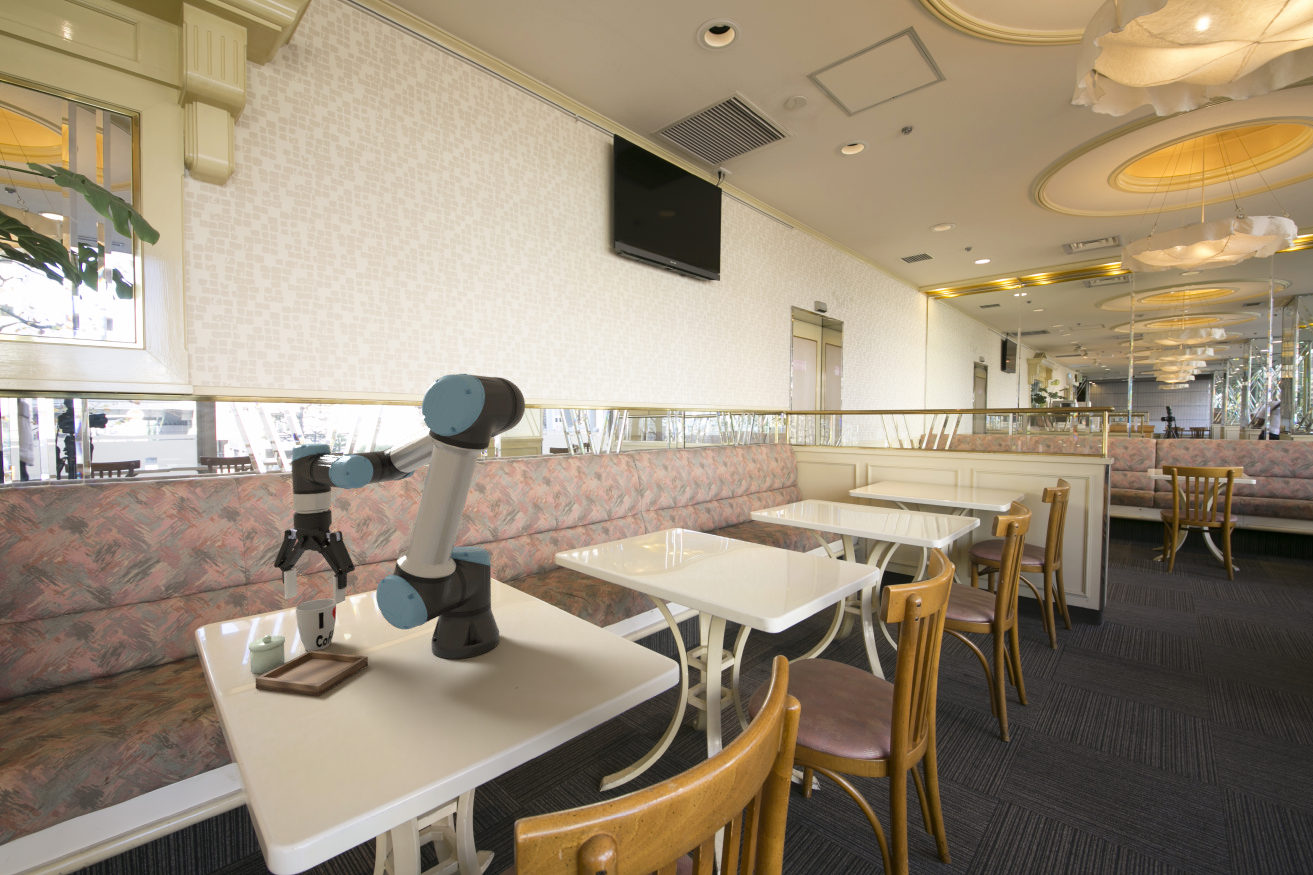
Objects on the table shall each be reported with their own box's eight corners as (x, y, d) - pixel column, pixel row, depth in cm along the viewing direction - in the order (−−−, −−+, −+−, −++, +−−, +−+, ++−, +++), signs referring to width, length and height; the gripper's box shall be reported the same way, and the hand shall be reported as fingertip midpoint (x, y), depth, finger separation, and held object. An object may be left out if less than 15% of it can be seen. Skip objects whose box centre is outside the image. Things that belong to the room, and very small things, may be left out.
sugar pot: (293, 661, 120) (291, 630, 120) (266, 675, 114) (265, 642, 114) (269, 659, 122) (268, 628, 121) (241, 672, 116) (240, 640, 115)
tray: (368, 665, 118) (367, 656, 118) (318, 696, 106) (318, 686, 105) (310, 659, 122) (310, 650, 121) (255, 687, 109) (255, 678, 109)
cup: (318, 655, 123) (316, 611, 123) (288, 652, 125) (286, 609, 125) (345, 640, 131) (344, 599, 131) (316, 637, 133) (315, 597, 133)
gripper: (370, 509, 128) (372, 598, 129) (282, 504, 133) (285, 589, 134) (345, 516, 120) (347, 610, 121) (254, 510, 126) (256, 600, 127)
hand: (314, 599), depth 128 cm, fingers open, 13 cm apart
